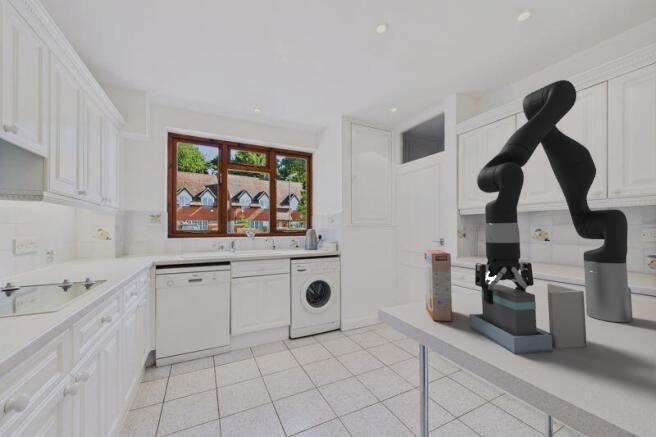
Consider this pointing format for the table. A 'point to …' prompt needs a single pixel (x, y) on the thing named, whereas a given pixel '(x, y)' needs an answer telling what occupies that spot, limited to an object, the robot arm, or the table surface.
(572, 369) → the table surface
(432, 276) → the cracker box
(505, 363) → the table surface
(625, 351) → the table surface
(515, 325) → the teal-striped grey block
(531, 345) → the tray
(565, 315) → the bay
